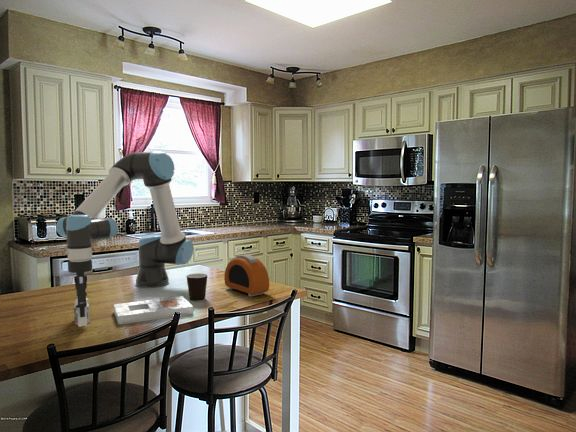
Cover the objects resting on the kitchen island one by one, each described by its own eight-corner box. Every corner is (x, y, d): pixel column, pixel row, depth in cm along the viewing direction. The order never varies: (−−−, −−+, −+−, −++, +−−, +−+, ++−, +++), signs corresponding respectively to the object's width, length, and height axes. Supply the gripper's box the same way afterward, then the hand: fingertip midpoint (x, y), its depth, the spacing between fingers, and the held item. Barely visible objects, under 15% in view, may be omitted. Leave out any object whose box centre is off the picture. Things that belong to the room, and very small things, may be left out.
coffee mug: (202, 302, 173) (202, 278, 172) (183, 301, 175) (182, 277, 174) (213, 295, 185) (213, 272, 184) (195, 293, 186) (194, 271, 185)
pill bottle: (77, 320, 150) (77, 297, 149) (91, 320, 150) (90, 297, 149) (72, 325, 145) (71, 301, 144) (86, 324, 145) (85, 301, 145)
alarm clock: (223, 288, 197) (223, 252, 195) (239, 285, 203) (239, 250, 201) (253, 298, 179) (253, 259, 178) (270, 295, 185) (270, 257, 184)
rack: (113, 312, 160) (113, 303, 159) (182, 303, 172) (182, 295, 171) (118, 324, 146) (118, 315, 145) (193, 314, 157) (193, 305, 157)
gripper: (67, 255, 155) (69, 311, 157) (67, 267, 133) (70, 333, 135) (90, 253, 159) (92, 309, 160) (93, 265, 136) (95, 329, 138)
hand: (82, 320), depth 147 cm, fingers open, 13 cm apart
